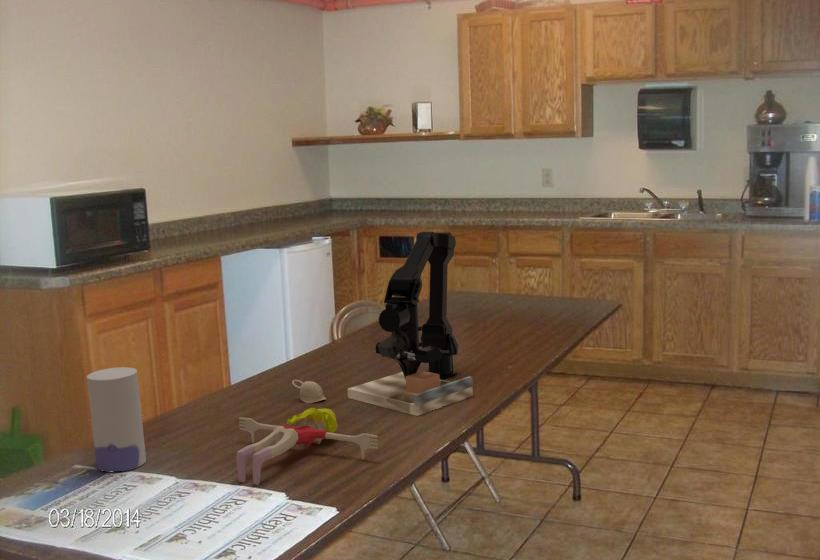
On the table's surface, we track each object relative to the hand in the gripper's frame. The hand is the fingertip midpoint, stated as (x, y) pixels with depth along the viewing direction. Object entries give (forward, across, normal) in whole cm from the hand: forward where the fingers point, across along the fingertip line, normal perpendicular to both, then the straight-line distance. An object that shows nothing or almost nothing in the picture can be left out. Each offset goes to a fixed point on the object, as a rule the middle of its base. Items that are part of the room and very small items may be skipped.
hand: (409, 383), depth 226 cm
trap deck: (+4, 0, 0) cm, 4 cm away
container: (+4, -15, -71) cm, 73 cm away
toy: (+4, +11, -46) cm, 48 cm away
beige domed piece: (+4, -19, -17) cm, 26 cm away
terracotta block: (+1, +5, 0) cm, 5 cm away
